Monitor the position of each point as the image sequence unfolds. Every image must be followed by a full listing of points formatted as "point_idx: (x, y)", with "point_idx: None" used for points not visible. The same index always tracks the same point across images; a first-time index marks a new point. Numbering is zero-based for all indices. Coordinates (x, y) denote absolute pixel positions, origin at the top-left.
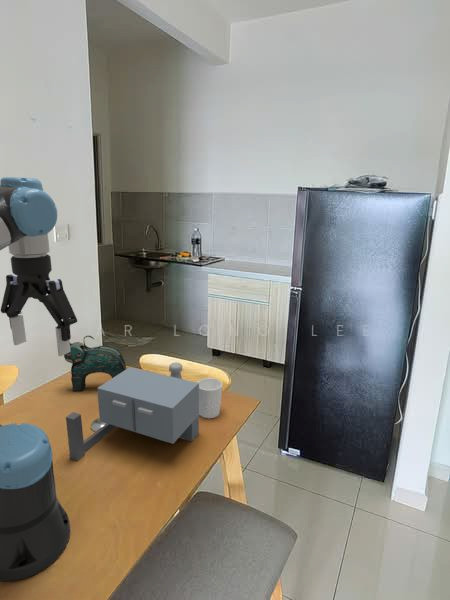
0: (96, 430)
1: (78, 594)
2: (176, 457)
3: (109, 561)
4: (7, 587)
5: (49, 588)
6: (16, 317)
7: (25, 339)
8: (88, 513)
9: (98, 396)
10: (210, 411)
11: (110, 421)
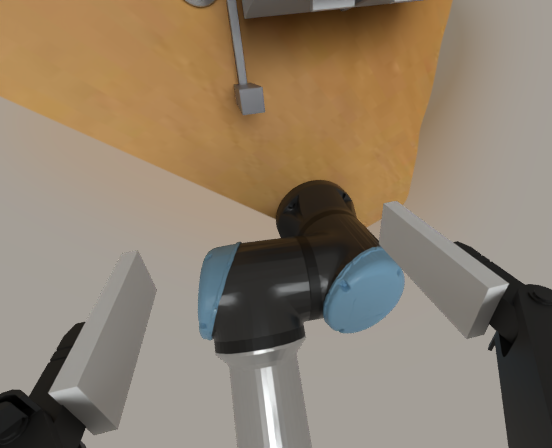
0: (207, 5)
1: None
2: None
3: (393, 185)
4: None
5: None
6: (103, 412)
7: (136, 259)
8: (340, 160)
9: (253, 4)
10: None
11: (278, 14)
